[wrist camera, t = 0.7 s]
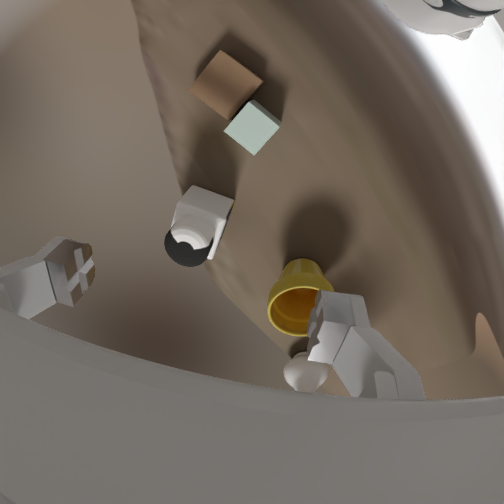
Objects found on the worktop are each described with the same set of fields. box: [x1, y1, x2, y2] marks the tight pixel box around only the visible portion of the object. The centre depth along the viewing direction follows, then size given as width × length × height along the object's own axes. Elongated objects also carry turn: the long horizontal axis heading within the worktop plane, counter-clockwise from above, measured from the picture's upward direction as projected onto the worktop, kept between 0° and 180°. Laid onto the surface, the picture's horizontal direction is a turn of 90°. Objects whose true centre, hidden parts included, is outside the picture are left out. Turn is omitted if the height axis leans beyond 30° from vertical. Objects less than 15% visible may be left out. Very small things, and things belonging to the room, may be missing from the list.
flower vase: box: [284, 351, 328, 393], centre depth 55 cm, size 13×18×25 cm
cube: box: [224, 99, 281, 155], centre depth 40 cm, size 5×5×5 cm
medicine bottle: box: [164, 185, 234, 267], centre depth 45 cm, size 7×7×12 cm
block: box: [188, 50, 264, 121], centre depth 38 cm, size 7×7×3 cm
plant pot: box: [267, 258, 335, 336], centre depth 50 cm, size 10×10×10 cm
